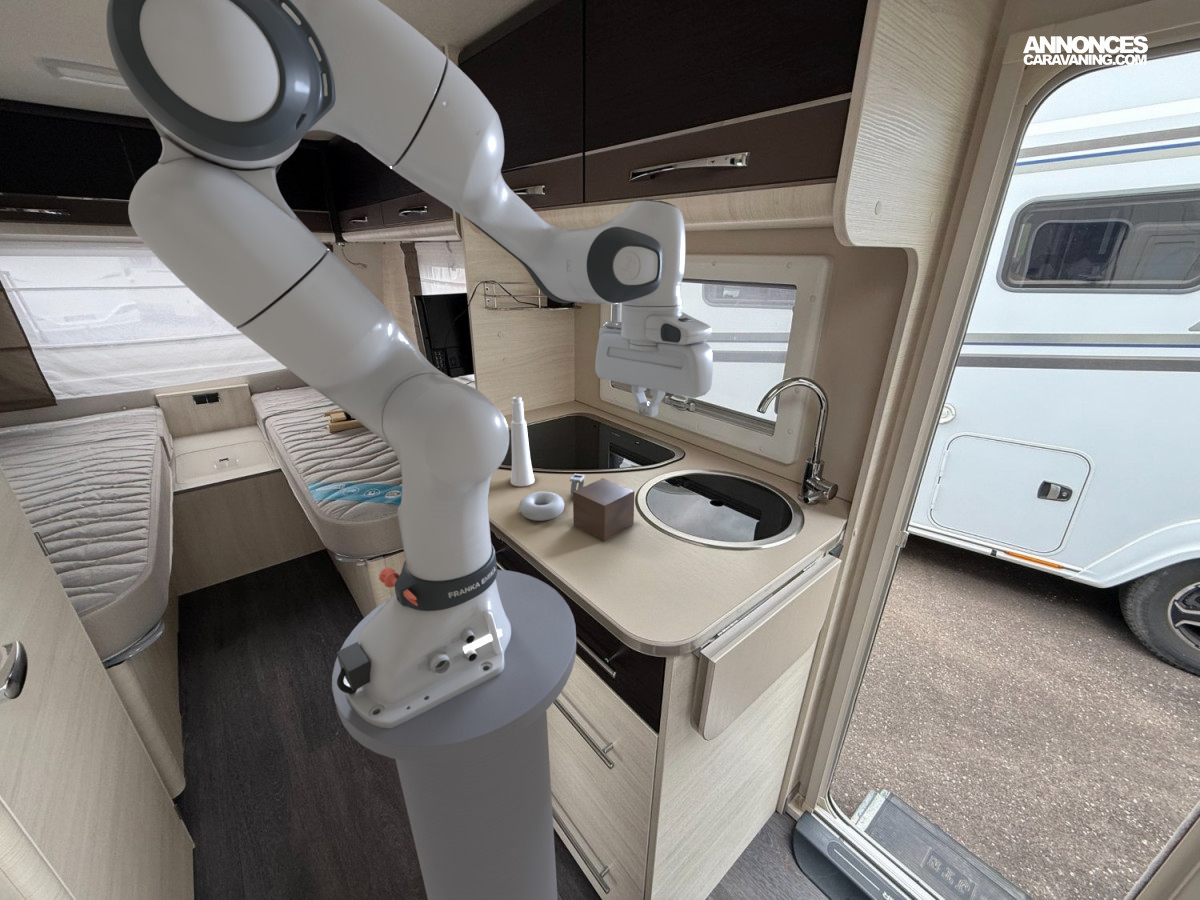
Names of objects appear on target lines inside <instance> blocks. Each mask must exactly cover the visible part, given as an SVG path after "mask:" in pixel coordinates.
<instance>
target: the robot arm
mask: <svg viewBox="0 0 1200 900" xmlns="http://www.w3.org/2000/svg"><path fill="white" fill-rule="evenodd" d="M105 22H106V23H105V24H106V35H107V36H106V37H107V41H108V44H109V49H110V52H111V53H110V54H111V55H112V58H113V60H114V63H115V66H116V68H117V70H118V72H119V74H120V76H121V78H122V79H123V81H124V83H125V85H126V86H127V87H128V89H129V90H130V92H131V94H132V95H133V96H134V98H135V100H136V101H137V103H138V104H139V106H140V107H141V109H142V111H143V112H144V114H145V115H146V116H147V118H148V119H149V121H150V122H151V124H152V125H153V126H154V128H155V130H156V131H157V133H158V135H159V137H160V142H161V147H162V149H161V153H160V157H159V158H158V160H157V161H158V162H157V163H156V164H155V165H153V166H151V167H150V168H148V170H146V171H145V172H144V173H143V174H142V175H141V176H140V177H139V178H138V180H137V182H136V184H135V185H134V186H133V189H132V191H131V193H130V196H129V201H128V207H127V208H128V210H127V211H128V213H127V214H128V218H129V222H130V224H131V227H132V229H133V230H134V232H135V234H136V235H137V236H138V239H140V240H141V242H143V244H144V245H145V246H146V247H147V248H148V249H149V251H151V252H152V253H153V254H154V255H155V257H156V258H157V259H158V260H159V261H160V262H161V263H162V264H163V265H164V266H165V267H166V268H168V270H170V272H171V273H172V274H173V275H174V276H175V277H176V278H177V279H178V280H179V281H180V282H181V283H182V284H183V285H185V287H186V288H188V289H189V290H190V291H191V292H192V293H193V294H194V295H195V296H196V297H197V298H199V299H200V300H201V301H202V302H203V303H204V304H206V305H207V306H208V307H209V308H210V309H211V310H212V311H214V312H215V313H216V314H217V315H218V316H220V317H221V318H222V319H224V320H225V321H226V322H227V323H228V324H230V325H231V326H232V327H233V328H235V329H236V330H237V331H239V332H240V333H241V334H242V335H244V336H245V337H246V338H248V340H250V341H252V342H253V343H254V344H256V345H257V346H258V347H259V348H261V349H262V350H263V351H264V352H266V353H267V354H268V355H270V356H271V357H272V358H274V360H276V361H277V362H279V363H280V364H281V365H282V366H284V367H285V368H286V369H288V370H289V371H290V372H291V373H293V374H294V375H295V376H296V377H298V378H299V379H300V380H302V381H303V382H304V383H305V384H307V385H308V386H310V387H311V388H312V389H313V390H315V391H317V392H318V393H320V394H321V395H322V396H324V397H325V398H326V399H328V400H329V401H330V402H332V403H333V404H334V405H336V406H337V407H338V408H340V409H341V410H342V411H344V412H345V413H346V414H347V415H349V416H351V417H352V418H353V419H355V420H356V421H357V422H359V424H361V425H362V426H364V427H365V428H367V430H369V431H370V432H372V433H373V434H374V435H376V436H377V437H378V438H379V439H380V440H381V441H383V442H384V443H385V444H386V445H387V446H388V447H390V448H391V449H392V450H393V453H394V454H395V457H396V458H397V461H398V464H399V468H400V474H401V497H400V500H401V501H400V504H399V506H398V508H397V513H396V517H397V521H398V527H399V531H400V532H399V533H400V538H401V543H402V544H401V545H402V549H403V554H404V562H403V564H402V568H401V572H400V574H399V573H397V572H396V570H394V569H393V568H392V567H385V568H384V569H382V570H381V571H380V573H379V574H378V576H379V577H378V580H379V581H380V582H381V583H382V584H383V585H384V586H385V587H386V588H394V593H393V594H392V595H391V596H390V597H389V598H390V599H389V598H388V599H389V600H388V599H387V600H388V601H387V602H386V604H385V605H384V606H383V607H382V608H381V609H380V610H379V611H378V613H377V614H376V615H375V616H374V617H373V618H372V619H371V620H370V621H369V622H368V623H367V624H366V626H365V627H364V628H363V629H362V631H361V633H360V636H359V640H358V643H357V642H356V643H354V644H352V645H350V646H348V647H346V648H344V649H342V650H340V649H339V650H338V651H336V658H337V657H338V661H339V664H340V668H341V671H340V674H339V676H338V679H337V686H338V687H339V689H340V690H341V691H343V692H345V695H346V697H347V699H348V701H349V703H350V704H351V706H352V707H353V708H354V710H355V711H356V712H357V713H358V714H359V715H360V717H362V718H363V719H364V720H365V721H367V722H368V723H370V724H372V725H375V726H377V727H381V728H386V729H390V728H393V727H396V726H398V725H400V724H402V723H404V722H406V721H408V720H410V719H412V718H414V717H416V716H418V715H420V714H422V713H424V712H426V711H428V710H430V709H432V708H434V707H436V706H438V705H440V704H441V703H443V702H445V701H447V700H449V699H451V698H453V697H455V696H457V695H459V694H461V693H463V692H465V691H467V690H469V689H471V688H473V687H475V686H477V685H479V684H481V683H483V682H485V681H487V680H489V679H491V678H493V677H495V676H497V675H498V674H500V673H501V672H502V671H503V669H504V663H505V662H504V653H505V650H506V648H507V646H508V643H509V641H510V638H511V625H510V622H509V620H508V618H507V616H506V614H505V612H504V609H503V606H502V603H501V600H500V596H499V592H498V588H497V583H496V576H497V569H498V563H497V557H496V556H497V555H496V549H495V546H494V545H493V543H492V538H491V527H490V516H489V515H490V514H489V493H490V485H491V480H492V475H493V474H494V473H495V472H497V470H498V469H499V468H500V466H501V465H502V463H503V462H504V460H505V458H506V456H507V454H508V450H509V446H510V430H509V429H510V428H509V425H508V423H507V420H506V418H505V416H504V415H503V413H502V412H501V411H500V410H499V409H498V407H496V405H495V404H494V403H493V402H492V401H491V400H490V399H489V398H488V397H487V396H486V395H485V394H483V392H481V391H480V390H478V389H477V388H475V387H474V386H471V385H468V384H466V383H463V382H461V381H459V380H456V379H455V378H452V377H451V376H448V375H447V374H445V373H444V372H442V371H441V370H439V369H438V368H437V367H435V366H434V364H433V363H431V362H430V361H429V360H428V359H427V358H426V357H425V356H424V354H422V352H421V351H420V350H419V349H418V347H417V346H416V345H415V344H414V343H413V341H412V339H410V337H409V336H408V335H407V333H405V331H404V330H403V329H402V328H401V326H400V324H399V323H398V322H397V320H396V318H395V316H394V314H393V313H392V312H391V311H390V310H389V309H388V308H387V307H386V305H384V304H383V303H382V302H381V301H380V300H379V299H378V298H377V297H376V296H375V294H373V292H371V291H370V290H369V289H368V288H367V287H366V285H364V283H362V281H361V280H359V278H358V277H357V276H356V275H355V274H354V273H353V272H352V271H351V270H350V269H349V268H348V267H347V266H346V265H345V264H344V263H343V262H342V261H341V260H340V259H339V258H338V256H336V255H335V253H334V252H332V251H331V250H330V249H329V248H328V247H327V246H326V244H324V243H323V242H322V240H320V239H319V237H317V236H316V235H315V234H314V233H313V232H312V231H311V229H309V228H308V227H307V226H306V224H304V223H303V222H302V220H300V218H299V217H298V216H297V215H296V214H295V212H294V211H293V209H292V208H291V207H290V206H289V205H288V203H287V201H286V200H285V198H284V197H283V195H282V193H281V191H280V188H279V186H278V183H277V182H278V181H277V177H276V176H277V173H278V171H279V170H280V168H281V166H282V164H283V163H284V161H286V160H287V159H289V158H290V157H291V155H293V154H294V152H295V151H296V149H297V148H298V146H299V144H300V142H301V140H302V138H303V137H304V136H305V135H306V134H307V133H308V132H312V131H323V132H324V131H325V132H328V133H333V134H335V135H338V136H341V137H342V138H345V139H346V140H349V141H351V142H352V143H354V144H355V143H356V144H358V145H359V146H360V147H361V148H363V149H364V150H366V151H367V152H368V153H369V154H371V155H372V156H373V157H374V158H376V159H377V160H379V161H380V162H382V163H383V164H384V165H385V166H387V167H388V168H390V169H391V170H392V171H394V172H395V173H396V174H398V175H399V176H401V177H402V178H404V179H405V180H407V181H409V182H410V183H411V184H412V185H415V187H417V188H419V189H421V190H422V191H423V192H425V193H427V194H428V195H429V196H431V197H433V198H434V199H436V200H438V201H439V202H441V203H443V204H444V205H446V206H448V207H449V208H451V209H452V210H453V211H455V212H456V213H457V214H459V215H461V216H462V217H463V218H464V219H465V220H467V221H468V222H469V223H471V224H472V225H473V226H474V227H476V229H478V230H479V231H481V232H482V233H483V234H484V235H485V236H487V237H488V238H489V239H491V240H492V241H493V242H494V243H496V244H497V245H498V246H500V247H501V248H502V249H503V250H505V251H506V252H507V253H508V254H509V255H511V256H512V257H513V258H515V260H517V261H518V262H519V263H520V264H521V265H522V266H523V267H524V268H525V270H526V272H527V273H528V274H529V275H530V278H532V280H533V282H534V284H535V285H536V287H537V288H538V289H539V290H540V292H541V293H542V294H543V295H544V296H545V297H547V298H548V299H550V300H552V301H554V302H557V303H560V304H570V303H571V304H572V303H573V304H574V303H583V304H591V305H592V304H593V305H609V306H612V305H618V304H621V319H620V321H613V320H607V321H606V322H605V323H603V324H602V325H601V327H600V328H599V331H598V341H597V344H596V345H597V347H596V354H595V363H594V367H595V368H594V369H595V370H594V371H595V374H596V376H597V378H598V379H602V380H607V381H611V382H615V383H620V384H625V385H629V386H631V394H632V396H633V398H634V400H635V403H636V413H637V414H639V415H644V416H647V417H651V418H654V417H657V416H658V414H659V405H660V404H661V403H662V401H663V399H664V398H665V396H666V394H667V393H669V394H672V395H678V396H682V397H687V398H693V399H696V398H699V397H703V396H705V395H706V394H708V392H709V391H710V390H711V388H712V384H713V373H714V372H713V370H714V369H713V366H714V365H713V362H714V361H713V360H714V359H713V352H712V348H711V346H710V345H709V344H708V343H707V341H709V340H711V338H712V335H713V334H712V333H713V329H712V326H710V325H709V324H707V323H705V322H703V321H701V320H699V319H696V318H695V317H693V316H690V315H689V314H687V313H685V312H683V298H682V293H681V291H682V290H681V288H682V282H683V278H684V275H685V270H686V269H685V268H686V249H687V248H686V241H687V240H686V227H685V221H684V217H683V214H682V211H681V210H680V208H678V207H677V206H676V205H674V204H672V203H670V202H666V201H663V200H654V199H638V200H634V201H632V202H631V203H630V204H629V205H628V206H627V208H626V209H625V210H624V211H623V212H621V213H619V215H617V216H616V217H614V218H612V219H610V220H608V221H605V222H603V223H601V224H600V225H597V226H590V227H583V228H574V229H573V228H563V227H559V226H555V225H552V224H550V223H549V222H546V220H545V219H543V218H542V217H541V216H540V215H539V214H538V213H537V212H536V211H535V210H534V209H533V208H531V207H530V206H529V205H528V204H527V203H526V202H525V201H524V200H523V199H522V198H521V197H519V195H518V194H517V193H516V192H514V190H512V189H511V188H510V187H509V185H508V184H507V183H506V181H505V179H504V177H503V175H502V167H503V163H504V158H505V137H504V131H503V130H504V129H503V126H502V122H501V119H500V116H499V114H498V111H496V109H495V108H494V106H493V104H491V102H490V100H489V99H488V98H487V97H486V95H485V94H484V93H483V92H482V90H481V89H480V88H479V87H478V86H477V84H476V83H474V81H473V80H472V79H471V78H470V77H469V76H468V75H467V74H466V73H465V72H463V70H461V68H460V67H458V66H457V64H455V62H453V61H452V60H451V59H450V58H449V57H447V56H446V54H444V52H442V51H441V50H440V49H439V48H438V47H437V46H436V45H435V44H434V43H432V42H431V41H430V40H429V39H428V38H427V37H425V36H424V35H423V34H422V33H421V32H419V31H418V30H417V29H416V28H415V27H413V25H411V24H410V23H409V22H407V20H405V19H403V17H401V16H400V15H399V14H397V13H396V12H394V10H392V9H390V8H389V7H388V6H387V5H385V4H384V3H382V2H381V1H379V0H108V2H107V9H106V21H105ZM647 389H649V396H651V397H652V398H651V399H650V401H648V399H647V397H646V394H645V391H647ZM485 670H487V671H485ZM377 713H379V714H377ZM375 714H377V715H375Z"/></svg>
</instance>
